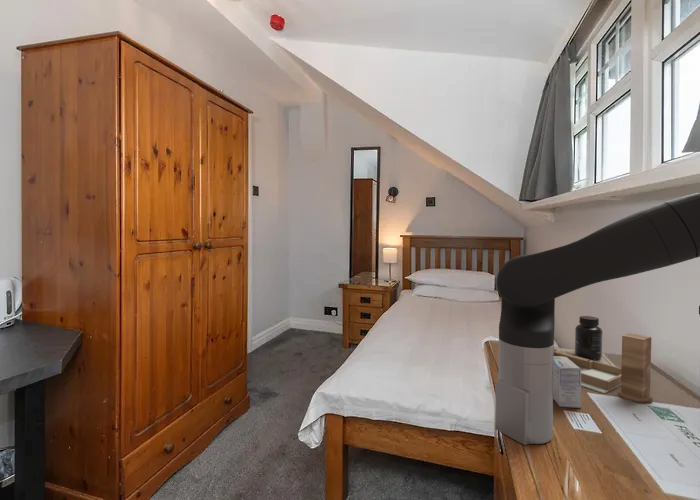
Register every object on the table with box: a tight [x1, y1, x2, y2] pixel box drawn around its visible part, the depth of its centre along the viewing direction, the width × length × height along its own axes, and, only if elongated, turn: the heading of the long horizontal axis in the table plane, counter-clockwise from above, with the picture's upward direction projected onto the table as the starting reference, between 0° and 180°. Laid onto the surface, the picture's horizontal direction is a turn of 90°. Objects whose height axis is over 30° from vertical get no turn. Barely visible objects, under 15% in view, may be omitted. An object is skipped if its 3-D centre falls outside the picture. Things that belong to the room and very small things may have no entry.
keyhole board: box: [554, 348, 621, 395], centre depth 93 cm, size 16×19×3 cm
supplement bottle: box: [574, 315, 603, 361], centre depth 105 cm, size 7×7×12 cm
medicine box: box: [553, 356, 582, 409], centre depth 78 cm, size 8×4×9 cm, turn 168°
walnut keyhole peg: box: [618, 332, 654, 404], centre depth 79 cm, size 6×6×14 cm
